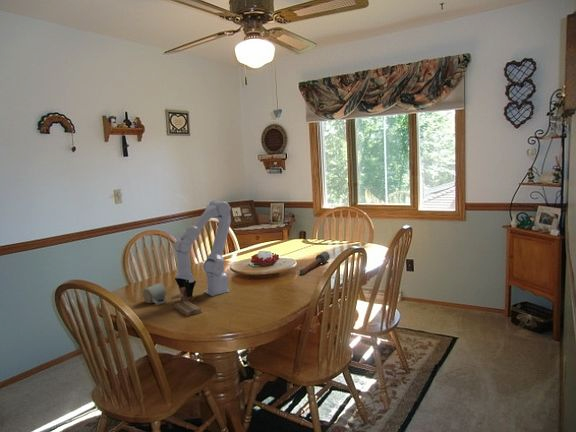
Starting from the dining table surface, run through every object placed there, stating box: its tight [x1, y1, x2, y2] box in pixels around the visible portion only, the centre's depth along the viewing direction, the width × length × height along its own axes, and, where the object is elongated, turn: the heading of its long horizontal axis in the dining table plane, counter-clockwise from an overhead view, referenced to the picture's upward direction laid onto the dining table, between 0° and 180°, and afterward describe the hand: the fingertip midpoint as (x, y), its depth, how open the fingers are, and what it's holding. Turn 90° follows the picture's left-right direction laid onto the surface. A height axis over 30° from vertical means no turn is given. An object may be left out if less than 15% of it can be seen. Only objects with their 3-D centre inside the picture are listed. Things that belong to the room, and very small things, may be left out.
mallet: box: [299, 251, 331, 275], centre depth 244 cm, size 6×6×30 cm
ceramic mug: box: [142, 282, 167, 305], centre depth 198 cm, size 11×8×8 cm
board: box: [173, 301, 202, 317], centre depth 186 cm, size 6×14×2 cm, turn 36°
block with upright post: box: [168, 287, 194, 302], centre depth 197 cm, size 10×4×6 cm, turn 126°
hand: (186, 294), depth 198 cm, fingers open, 7 cm apart
